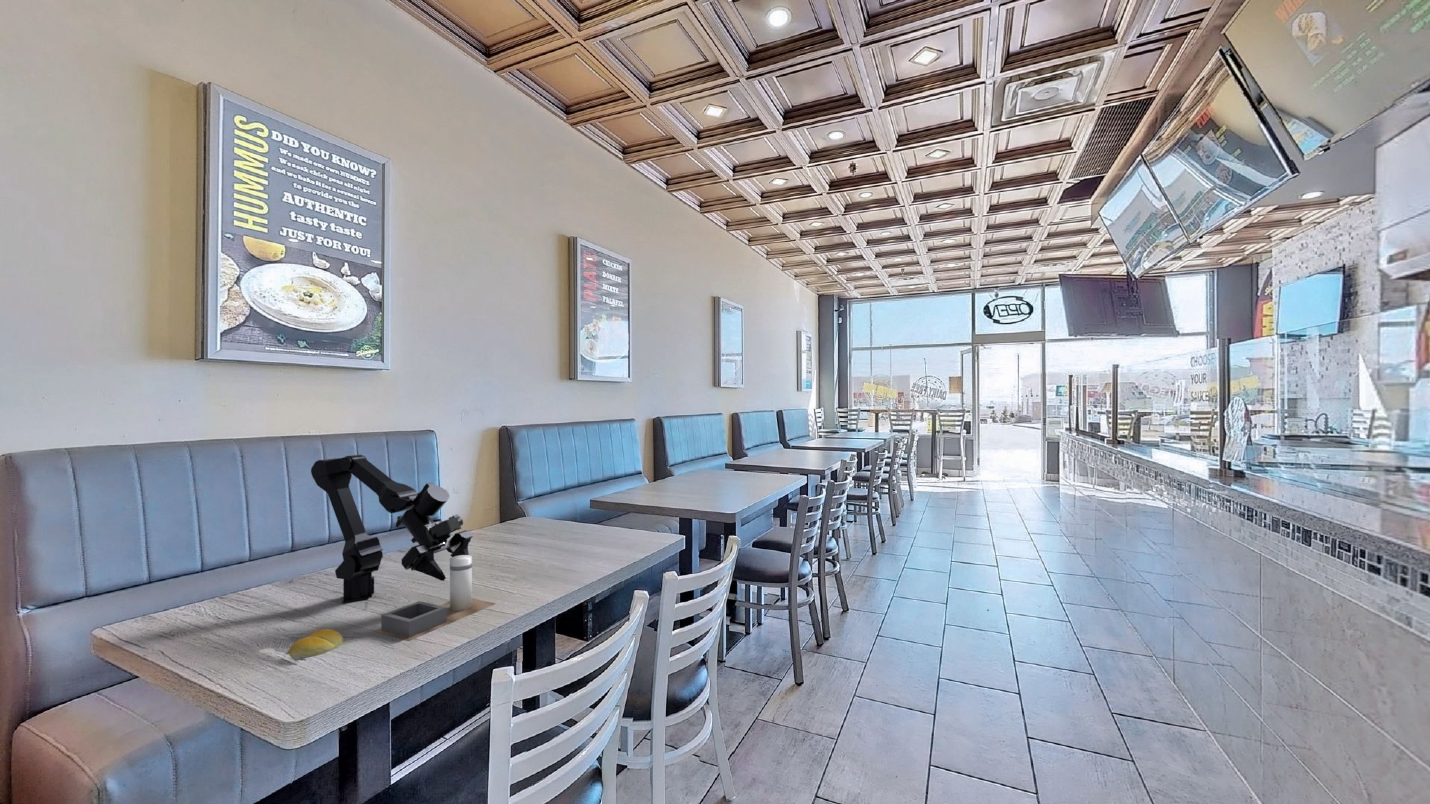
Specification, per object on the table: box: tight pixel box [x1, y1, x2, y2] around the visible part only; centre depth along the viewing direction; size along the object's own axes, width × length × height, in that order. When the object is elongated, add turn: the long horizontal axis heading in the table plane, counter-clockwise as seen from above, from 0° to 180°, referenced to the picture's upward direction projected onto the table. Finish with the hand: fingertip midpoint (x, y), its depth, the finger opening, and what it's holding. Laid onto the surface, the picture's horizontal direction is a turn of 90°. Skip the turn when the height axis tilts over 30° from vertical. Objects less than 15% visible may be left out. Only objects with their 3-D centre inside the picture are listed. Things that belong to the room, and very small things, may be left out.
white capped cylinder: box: [449, 554, 473, 611], centre depth 135 cm, size 5×5×12 cm
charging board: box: [373, 597, 497, 642], centre depth 129 cm, size 24×12×1 cm, turn 156°
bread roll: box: [288, 628, 344, 661], centre depth 112 cm, size 8×9×4 cm
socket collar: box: [380, 600, 447, 638], centre depth 123 cm, size 9×9×4 cm
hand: (458, 573), depth 135 cm, fingers open, 9 cm apart
